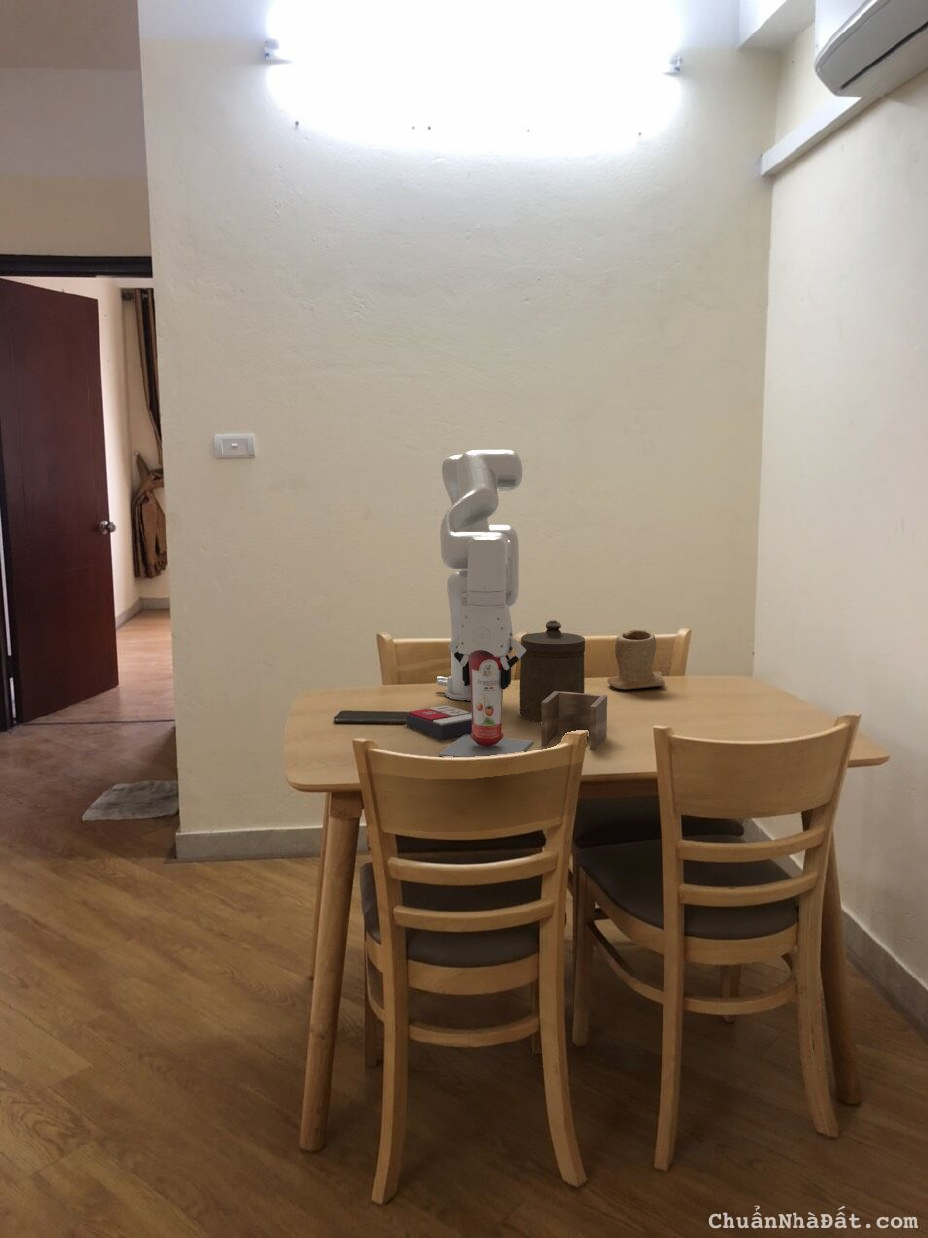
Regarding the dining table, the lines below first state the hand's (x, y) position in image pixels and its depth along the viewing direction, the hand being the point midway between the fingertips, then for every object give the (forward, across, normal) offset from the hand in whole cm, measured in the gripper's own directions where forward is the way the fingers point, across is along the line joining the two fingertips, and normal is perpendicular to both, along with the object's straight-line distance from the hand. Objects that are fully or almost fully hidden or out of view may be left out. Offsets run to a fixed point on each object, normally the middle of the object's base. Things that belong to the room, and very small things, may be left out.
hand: (486, 685), depth 193 cm
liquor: (+12, 0, 0) cm, 12 cm away
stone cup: (+14, +19, +64) cm, 68 cm away
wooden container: (+14, +5, +31) cm, 34 cm away
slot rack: (+13, +15, +12) cm, 23 cm away
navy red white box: (+14, -14, +11) cm, 23 cm away
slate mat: (+13, 0, 0) cm, 13 cm away
